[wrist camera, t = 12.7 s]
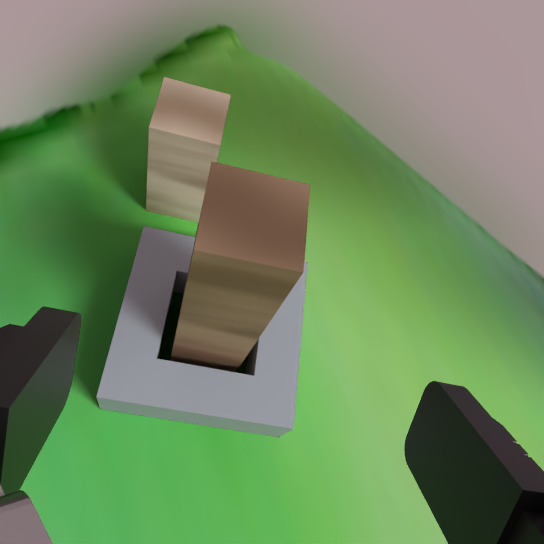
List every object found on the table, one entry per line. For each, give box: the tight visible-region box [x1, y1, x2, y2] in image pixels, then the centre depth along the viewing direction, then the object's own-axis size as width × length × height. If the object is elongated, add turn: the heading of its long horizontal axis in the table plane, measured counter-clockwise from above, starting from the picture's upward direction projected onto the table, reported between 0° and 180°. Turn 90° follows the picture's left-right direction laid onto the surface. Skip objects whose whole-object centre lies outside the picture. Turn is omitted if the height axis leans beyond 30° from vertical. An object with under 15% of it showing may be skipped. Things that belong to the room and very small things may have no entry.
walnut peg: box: [170, 161, 310, 372], centre depth 24 cm, size 4×4×14 cm
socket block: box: [96, 226, 308, 437], centre depth 28 cm, size 10×10×3 cm
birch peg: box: [146, 77, 231, 223], centre depth 30 cm, size 4×4×8 cm
